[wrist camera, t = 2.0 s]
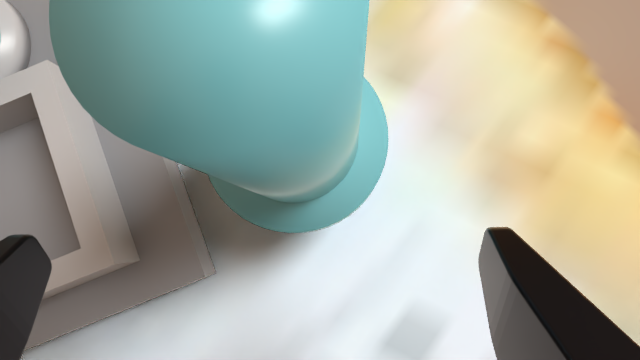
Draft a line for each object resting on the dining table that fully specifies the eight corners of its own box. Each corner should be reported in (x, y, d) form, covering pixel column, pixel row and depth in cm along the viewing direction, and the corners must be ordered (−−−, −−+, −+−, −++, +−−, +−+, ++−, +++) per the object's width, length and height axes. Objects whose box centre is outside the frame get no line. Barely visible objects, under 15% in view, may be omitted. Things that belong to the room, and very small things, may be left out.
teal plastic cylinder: (355, 251, 19) (365, 303, 6) (216, 207, 20) (-89, 155, 6) (397, 111, 20) (503, -162, 6) (261, 72, 21) (72, -255, 7)
